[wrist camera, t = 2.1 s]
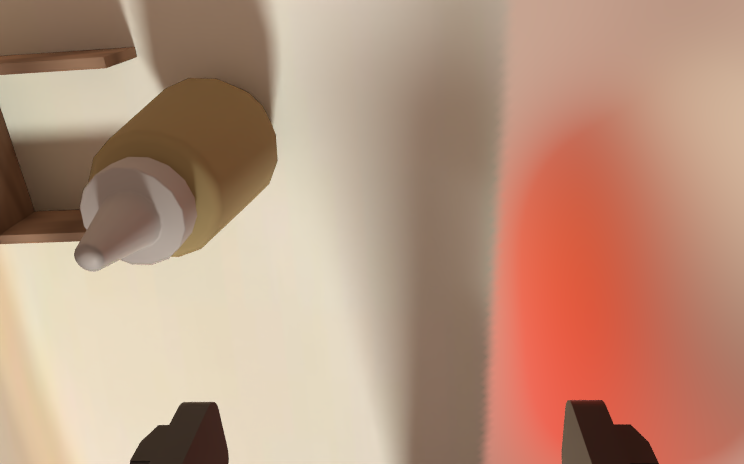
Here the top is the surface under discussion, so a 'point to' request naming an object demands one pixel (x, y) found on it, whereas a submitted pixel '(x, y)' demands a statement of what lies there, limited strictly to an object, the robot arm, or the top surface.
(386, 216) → the top surface
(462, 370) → the top surface
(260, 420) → the top surface
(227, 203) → the squeeze bottle
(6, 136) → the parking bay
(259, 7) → the top surface
